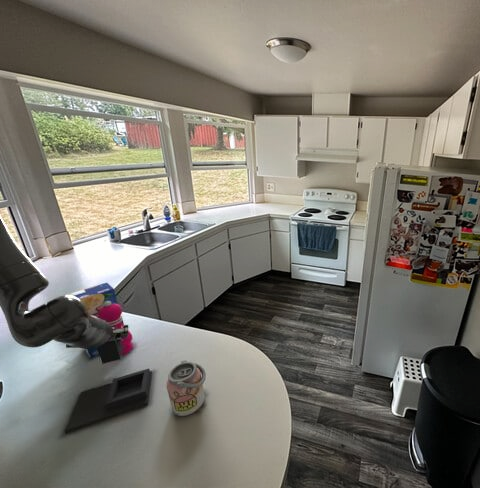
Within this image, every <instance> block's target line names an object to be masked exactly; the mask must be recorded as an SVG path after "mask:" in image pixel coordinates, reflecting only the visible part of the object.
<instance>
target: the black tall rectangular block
mask: <svg viewBox="0 0 480 488" xmlns="http://www.w3.org/2000/svg"><path fill="white" fill-rule="evenodd" d="M115 328H116V329H118V328H117V327H115ZM97 350H98V353H99V355H98V357H99V359H100V362H101V364H102V365H105V364H109V363H112V362H113V363H114V362H117V361H121V358H122V353H123V347H122V344H121V341H117V340H114V341H106V342H105V343H104V344H103V345H101V346H99V347H97Z"/></svg>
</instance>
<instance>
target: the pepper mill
mask: <svg viewBox="0 0 480 488" xmlns="http://www.w3.org/2000/svg"><path fill="white" fill-rule="evenodd" d="M104 305H105V306H103V307H102V308H101V309H100V310H99V312H98V316H99V318H100V319H102V320H104V321H106V322H107V323H109V324H110V326H111V327H112V328H115V327H117V328H118V329H121V327H123V324H122V319H123V320H124V318H123V315H122V314H123V308H122V306H121V305H120V304H119V303H118V304H111V302H110V301H106V302H105V303H104ZM132 340H133V335H132V333H131V331H130V330H129V329H128V337H126V338H124V339H123V340H122V341H121V344H122V347H123V353H122V356H126V355H127V354H129V353H130V352H131V351H132V350H133V349H134V344H133V341H132ZM122 356H121V357H122Z"/></svg>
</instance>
